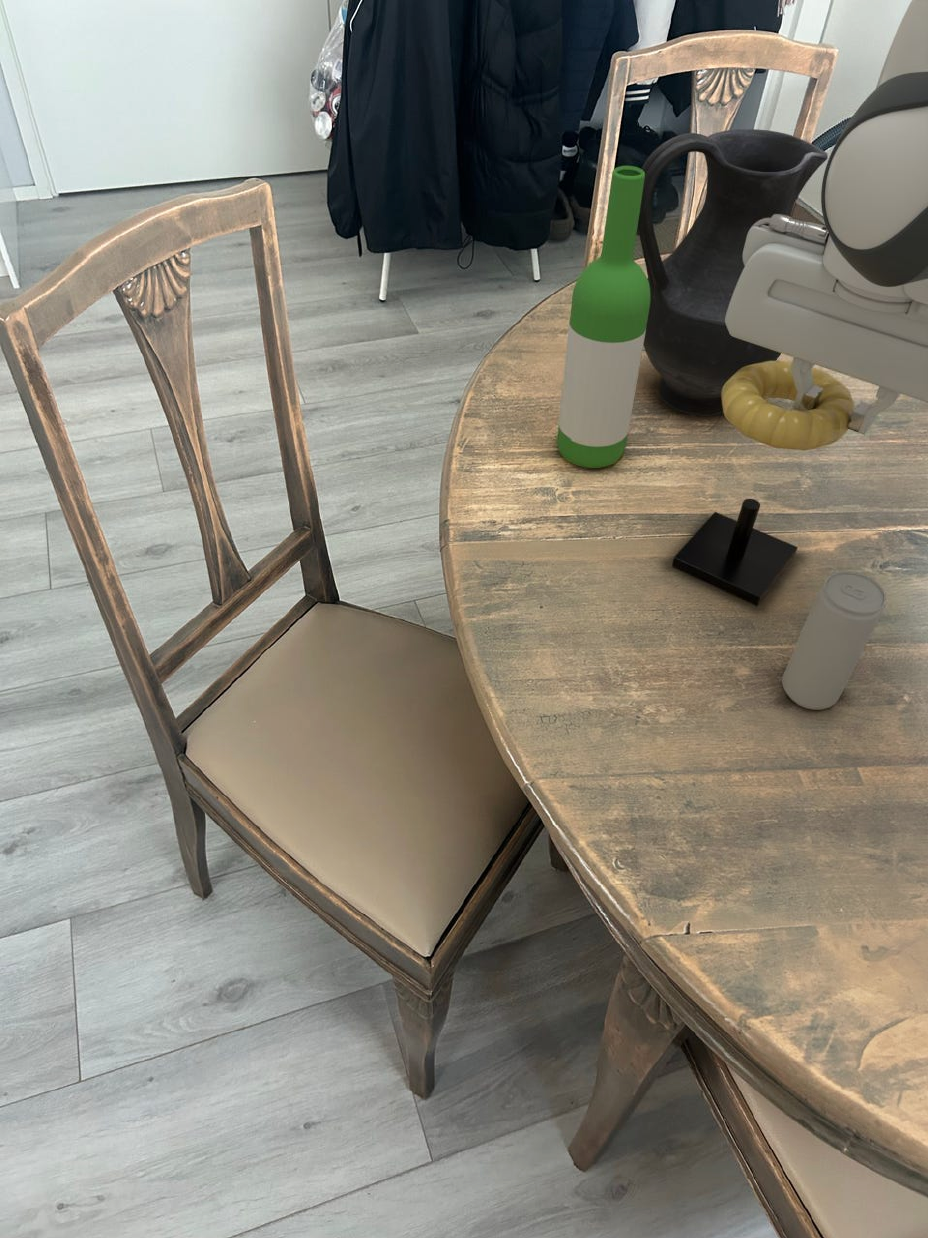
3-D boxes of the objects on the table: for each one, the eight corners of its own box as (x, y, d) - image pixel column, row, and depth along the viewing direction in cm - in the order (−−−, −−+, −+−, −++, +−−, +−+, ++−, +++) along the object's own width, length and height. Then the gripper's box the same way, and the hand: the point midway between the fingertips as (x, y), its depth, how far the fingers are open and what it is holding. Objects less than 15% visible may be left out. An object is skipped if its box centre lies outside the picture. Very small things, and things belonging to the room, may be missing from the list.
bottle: (596, 425, 103) (636, 150, 82) (638, 459, 98) (691, 177, 77) (542, 444, 100) (567, 164, 79) (582, 480, 96) (621, 193, 74)
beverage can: (825, 722, 73) (875, 622, 64) (770, 695, 75) (812, 594, 66) (845, 687, 76) (897, 587, 67) (792, 661, 78) (836, 560, 69)
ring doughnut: (865, 414, 73) (878, 382, 71) (818, 473, 67) (830, 440, 65) (750, 372, 78) (759, 341, 75) (696, 425, 72) (704, 393, 70)
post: (794, 555, 87) (816, 498, 82) (756, 606, 82) (777, 548, 77) (712, 520, 91) (728, 463, 86) (671, 566, 86) (685, 508, 81)
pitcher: (795, 422, 104) (885, 150, 82) (634, 449, 100) (685, 169, 78) (725, 351, 115) (788, 95, 94) (578, 373, 111) (609, 110, 90)
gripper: (735, 220, 62) (695, 391, 72) (1041, 306, 54) (948, 486, 64) (771, 194, 66) (728, 360, 76) (1064, 271, 57) (972, 446, 67)
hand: (831, 418), depth 70 cm, fingers closed on ring doughnut, 3 cm apart
